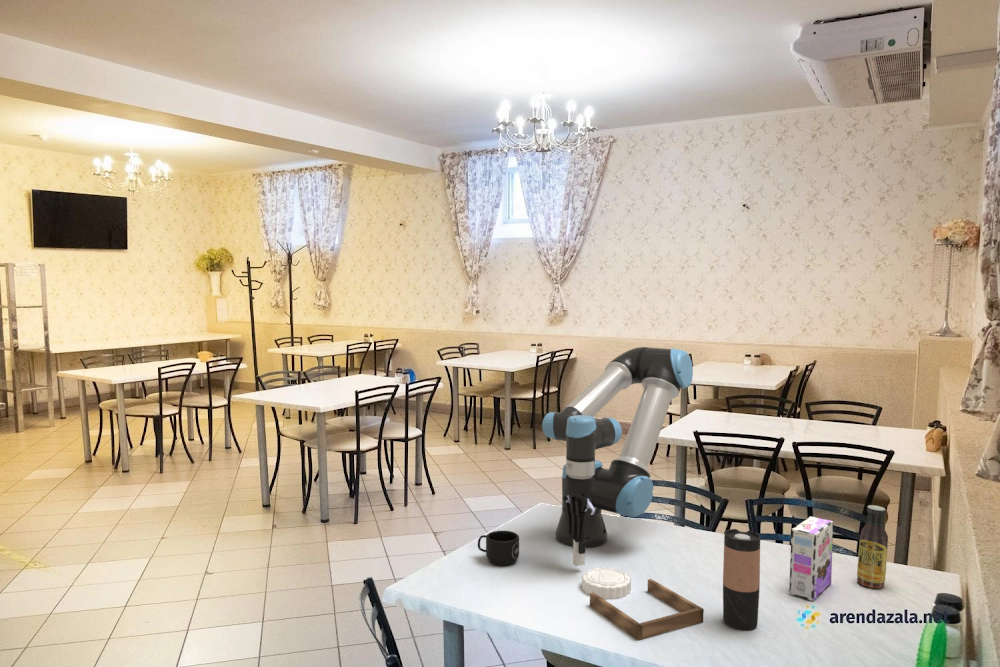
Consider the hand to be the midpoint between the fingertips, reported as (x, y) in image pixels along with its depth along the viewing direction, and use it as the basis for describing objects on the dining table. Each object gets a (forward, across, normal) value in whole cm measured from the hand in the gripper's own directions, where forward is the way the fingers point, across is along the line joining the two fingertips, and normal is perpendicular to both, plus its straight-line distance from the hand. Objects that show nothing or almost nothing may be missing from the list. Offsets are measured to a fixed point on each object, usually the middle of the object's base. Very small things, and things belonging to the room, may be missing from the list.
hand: (578, 564), depth 180 cm
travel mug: (+2, +40, +16) cm, 43 cm away
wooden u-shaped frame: (+2, +27, 0) cm, 27 cm away
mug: (+2, -16, -16) cm, 23 cm away
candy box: (+2, +35, +45) cm, 57 cm away
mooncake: (+2, +12, 0) cm, 12 cm away
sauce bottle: (+2, +40, +61) cm, 73 cm away
